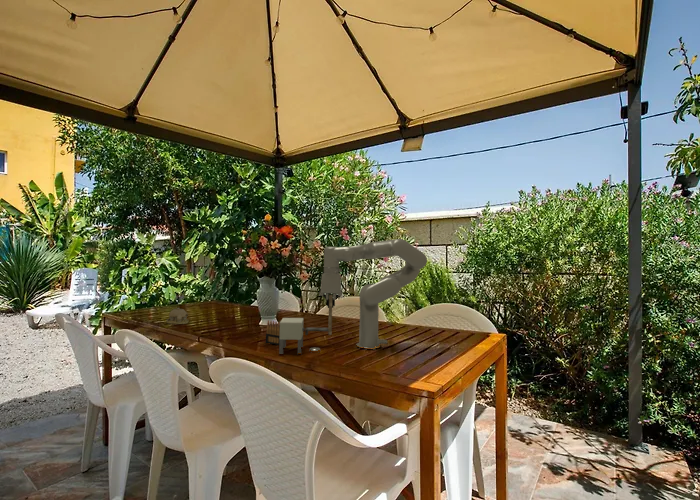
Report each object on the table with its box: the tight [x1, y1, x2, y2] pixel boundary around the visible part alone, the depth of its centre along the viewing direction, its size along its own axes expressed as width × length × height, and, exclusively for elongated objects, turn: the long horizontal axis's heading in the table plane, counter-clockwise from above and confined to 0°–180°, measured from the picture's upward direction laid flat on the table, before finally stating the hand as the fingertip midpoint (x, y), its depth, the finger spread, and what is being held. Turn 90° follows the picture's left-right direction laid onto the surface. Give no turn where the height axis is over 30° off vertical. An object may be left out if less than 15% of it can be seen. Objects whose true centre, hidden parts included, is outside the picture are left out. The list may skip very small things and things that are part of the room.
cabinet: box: [278, 317, 306, 355], centre depth 181 cm, size 11×13×15 cm
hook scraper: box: [304, 294, 333, 336], centre depth 190 cm, size 13×5×20 cm, turn 94°
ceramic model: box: [165, 307, 190, 325], centre depth 250 cm, size 14×11×10 cm
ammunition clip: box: [265, 320, 280, 346], centre depth 194 cm, size 11×2×12 cm, turn 59°
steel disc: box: [309, 347, 321, 351], centre depth 181 cm, size 5×5×2 cm
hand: (330, 307), depth 191 cm, fingers closed on hook scraper, 1 cm apart
